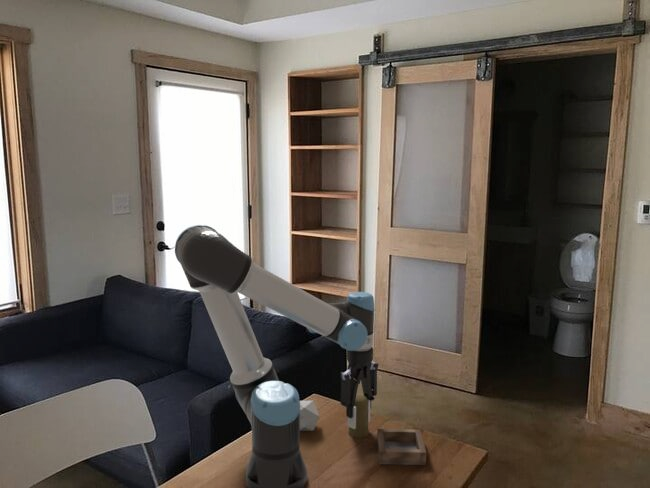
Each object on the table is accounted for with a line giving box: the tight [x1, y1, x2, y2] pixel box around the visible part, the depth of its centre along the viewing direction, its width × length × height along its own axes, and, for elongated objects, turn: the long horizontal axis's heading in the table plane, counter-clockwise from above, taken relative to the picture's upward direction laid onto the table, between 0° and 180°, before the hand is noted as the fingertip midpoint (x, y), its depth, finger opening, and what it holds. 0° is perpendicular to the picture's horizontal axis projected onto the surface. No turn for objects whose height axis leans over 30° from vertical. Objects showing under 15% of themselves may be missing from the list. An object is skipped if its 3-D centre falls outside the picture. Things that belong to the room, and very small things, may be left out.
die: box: [300, 400, 320, 432], centre depth 158 cm, size 8×9×10 cm
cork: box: [347, 394, 370, 439], centre depth 155 cm, size 6×6×11 cm
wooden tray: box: [376, 428, 427, 466], centre depth 146 cm, size 12×12×4 cm
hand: (358, 423), depth 156 cm, fingers closed on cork, 5 cm apart
